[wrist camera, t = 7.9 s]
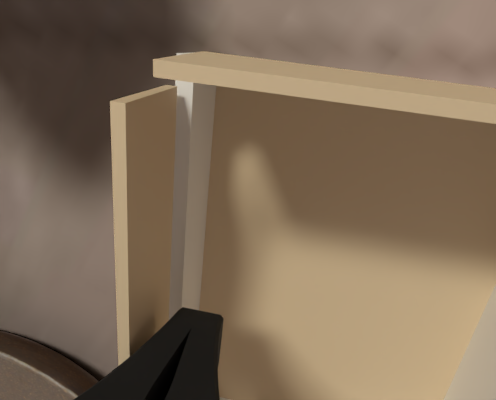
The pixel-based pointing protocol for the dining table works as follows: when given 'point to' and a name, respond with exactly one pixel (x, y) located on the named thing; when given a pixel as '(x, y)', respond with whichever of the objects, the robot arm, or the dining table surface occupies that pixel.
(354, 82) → the flap
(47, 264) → the dining table surface
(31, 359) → the plant saucer
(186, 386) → the robot arm
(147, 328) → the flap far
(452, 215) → the carton
